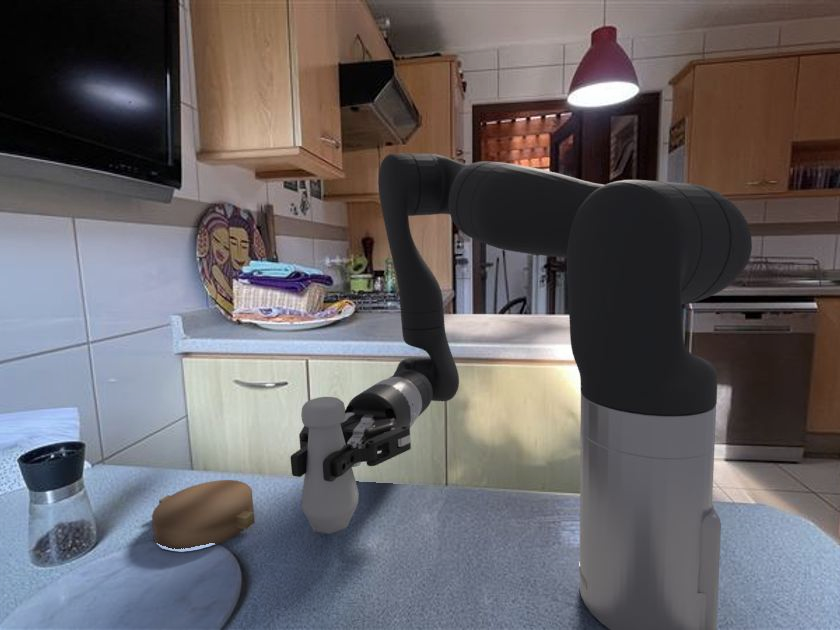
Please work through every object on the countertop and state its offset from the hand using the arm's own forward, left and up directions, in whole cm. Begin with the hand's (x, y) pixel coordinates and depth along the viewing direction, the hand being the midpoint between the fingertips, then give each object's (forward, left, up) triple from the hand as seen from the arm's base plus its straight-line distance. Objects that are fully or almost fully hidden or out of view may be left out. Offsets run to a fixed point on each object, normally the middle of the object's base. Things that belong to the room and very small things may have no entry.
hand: (310, 469), depth 42 cm
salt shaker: (0, -3, -7) cm, 8 cm away
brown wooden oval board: (+15, -1, -9) cm, 18 cm away
